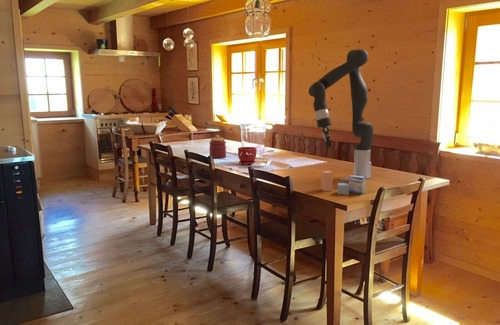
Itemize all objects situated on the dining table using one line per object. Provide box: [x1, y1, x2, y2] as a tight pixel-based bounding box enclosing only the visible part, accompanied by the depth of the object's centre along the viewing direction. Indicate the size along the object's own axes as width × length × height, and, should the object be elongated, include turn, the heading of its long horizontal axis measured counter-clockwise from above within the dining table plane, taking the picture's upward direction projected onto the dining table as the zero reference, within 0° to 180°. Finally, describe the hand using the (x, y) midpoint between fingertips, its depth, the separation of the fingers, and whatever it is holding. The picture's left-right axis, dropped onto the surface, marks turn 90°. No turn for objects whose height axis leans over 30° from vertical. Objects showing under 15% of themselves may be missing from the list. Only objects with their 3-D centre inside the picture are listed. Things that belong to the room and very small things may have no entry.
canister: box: [208, 134, 227, 160], centre depth 332 cm, size 13×13×18 cm
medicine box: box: [348, 174, 367, 195], centre depth 224 cm, size 8×4×9 cm, turn 56°
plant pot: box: [237, 146, 257, 166], centre depth 304 cm, size 13×13×12 cm
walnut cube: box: [339, 176, 349, 185], centre depth 235 cm, size 5×5×5 cm
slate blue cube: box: [336, 182, 350, 196], centre depth 222 cm, size 5×5×5 cm
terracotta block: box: [320, 170, 334, 192], centre depth 229 cm, size 4×4×10 cm
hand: (329, 147), depth 235 cm, fingers open, 8 cm apart
